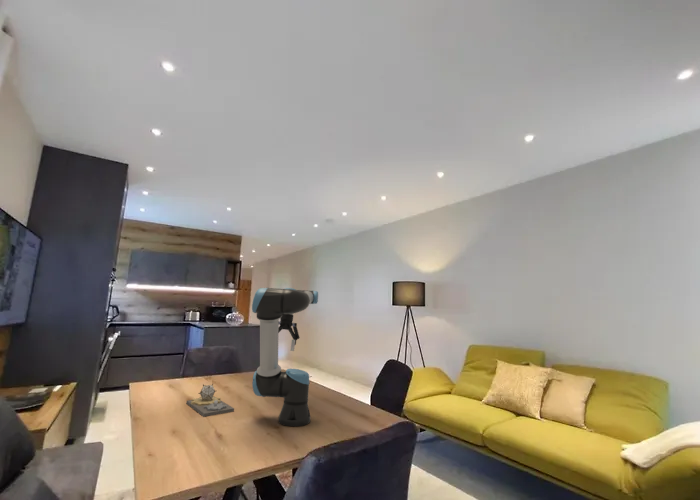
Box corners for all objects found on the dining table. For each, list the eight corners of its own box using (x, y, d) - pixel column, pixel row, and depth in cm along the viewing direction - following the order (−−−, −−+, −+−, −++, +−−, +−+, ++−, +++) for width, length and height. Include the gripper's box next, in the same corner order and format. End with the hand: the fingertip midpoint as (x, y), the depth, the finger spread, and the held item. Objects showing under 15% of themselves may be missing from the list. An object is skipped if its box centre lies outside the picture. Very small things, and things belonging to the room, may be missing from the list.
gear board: (233, 411, 168) (234, 401, 169) (203, 416, 158) (204, 405, 159) (214, 399, 187) (215, 390, 188) (186, 403, 177) (187, 393, 178)
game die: (207, 408, 175) (211, 395, 171) (193, 401, 175) (197, 388, 172) (217, 395, 183) (221, 383, 180) (203, 389, 184) (207, 376, 180)
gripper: (301, 316, 211) (296, 350, 206) (265, 311, 195) (260, 348, 190) (307, 316, 206) (303, 351, 200) (272, 311, 190) (266, 349, 184)
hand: (282, 350), depth 195 cm, fingers open, 13 cm apart
